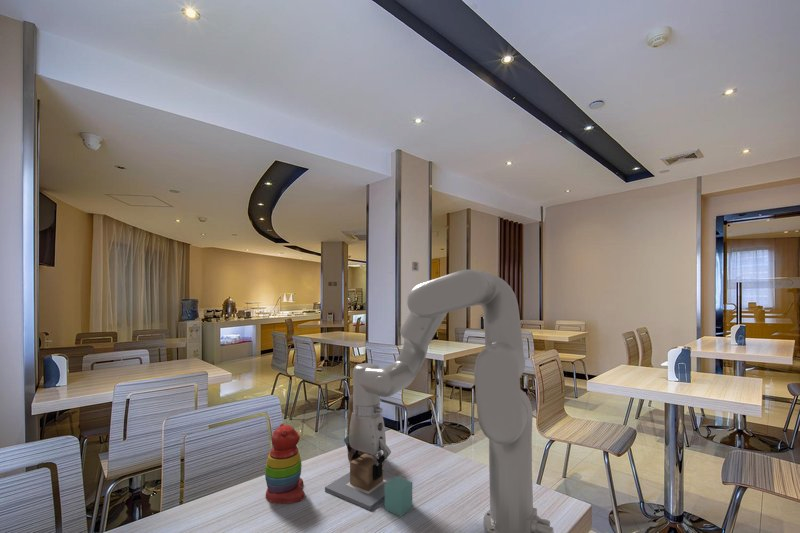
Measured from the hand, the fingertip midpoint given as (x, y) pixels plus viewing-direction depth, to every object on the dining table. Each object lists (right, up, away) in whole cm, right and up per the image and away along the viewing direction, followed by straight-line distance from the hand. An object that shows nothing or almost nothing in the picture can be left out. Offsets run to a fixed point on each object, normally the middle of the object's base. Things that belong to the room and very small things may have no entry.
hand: (366, 473), depth 103 cm
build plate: (0, -3, 0) cm, 4 cm away
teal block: (+9, -3, -10) cm, 14 cm away
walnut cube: (0, -2, 0) cm, 2 cm away
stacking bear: (-22, -4, -3) cm, 22 cm away
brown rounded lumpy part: (-4, -5, +18) cm, 20 cm away
